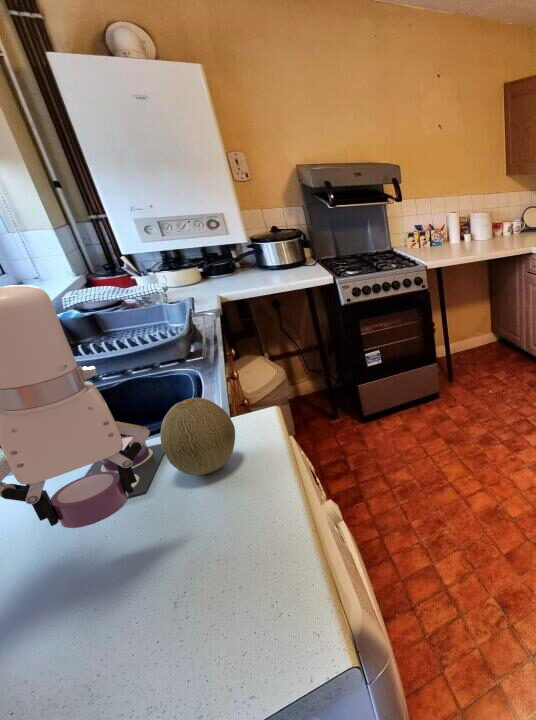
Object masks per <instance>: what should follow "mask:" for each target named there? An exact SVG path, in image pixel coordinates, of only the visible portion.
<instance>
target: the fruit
mask: <svg viewBox="0 0 536 720" xmlns="http://www.w3.org/2000/svg"><path fill="white" fill-rule="evenodd" d="M235 442H236V428H235V425H234V423H233V421H232V418H231V417H230V415H229V414H228V413H227V412H226V410H225V409H223V408H222V407H221V406H220V405H219V404H217V403H215V402H214V401H213V400H209V399H207V398H203V397H191V398H188V399H184V400H182V401H181V400H180V401H178V402H177V403H175V404H174V405H173V406H171V408H170V409H169V410H168V411H167V413H166V414H165V415H164V417H163V419H162V423H161V427H160V444H161V445H162V449H163V451H164V453H165V454H164V456H165V457H166V458H167V461H168V462H169V463H170V464H171V465H172V466H173V467H174V468H175V469H176V470H178V471H180V473H184V474H187V475H191V476H202V475H207V474H211V473H214V472H216V471H217V470H219V469H220V468H222V467H223V466H225V464H226V463H227V462H228V460H229V459H231V456H232V455H233V452H234V448H235Z"/></svg>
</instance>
